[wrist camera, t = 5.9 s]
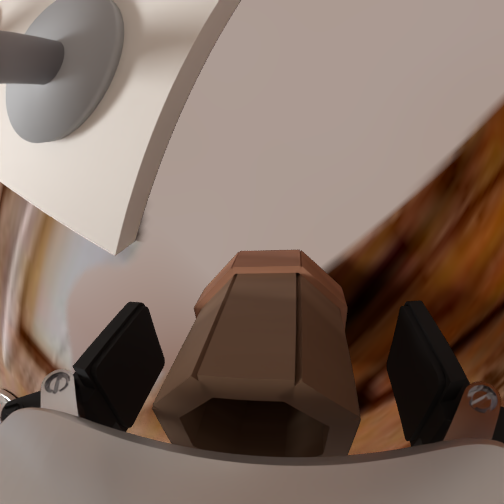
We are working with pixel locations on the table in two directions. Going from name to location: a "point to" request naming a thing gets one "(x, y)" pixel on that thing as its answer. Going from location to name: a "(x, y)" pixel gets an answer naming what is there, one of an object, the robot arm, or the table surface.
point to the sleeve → (264, 363)
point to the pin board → (97, 102)
